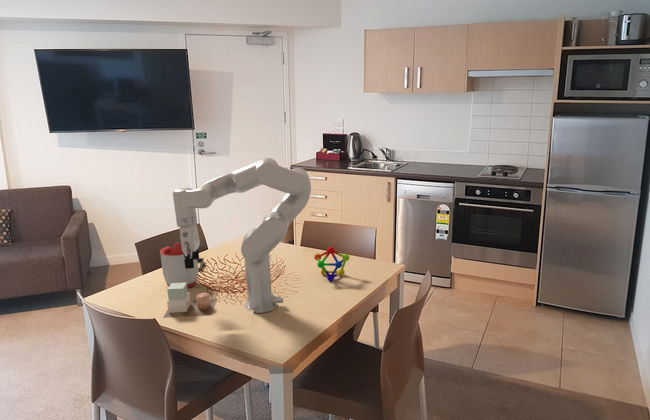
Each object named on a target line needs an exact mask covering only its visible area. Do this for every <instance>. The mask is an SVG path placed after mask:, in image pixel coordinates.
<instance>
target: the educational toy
mask: <svg viewBox="0 0 650 420" xmlns="http://www.w3.org/2000/svg"><path fill="white" fill-rule="evenodd" d="M330 255H331V256H332V257H333V260H334V261H335V263H331V262H330V263H329V262H328V263H327V262H326V263H325V261H326V260H327V259H328V257H329V256H330ZM336 255H337V256H340V258H342V259H341V260H338V258H337V257H336ZM323 256H324V257H323ZM322 257H323V259H322ZM313 258H314V260H315V261H318V262H317V267H318V268H320V274H321V275H322V276H326V277H327V278H326V279H327V281H328V282H333V281H334V280H335V278H336V277H337V276H340V277H341V276H344V275H345V273H346V272H345V270H344V268H345V265H346V262H348V261H349V260H350V255H349V254H347V253H344V254H342V253H340V252H339V251H336V250H335V248H334V247H333V246H329V247H328V248H327V250H326V251H324V252H323V253H321V254H320V253H315V254H314V256H313ZM321 259H322V260H321ZM325 266H327V267H328V266H331V267H332V266H334V267H335V268H334V269H333V270H328V269H327V268H326V267H325Z"/></svg>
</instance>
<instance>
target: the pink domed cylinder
mask: <svg viewBox="0 0 650 420" xmlns="http://www.w3.org/2000/svg"><path fill="white" fill-rule="evenodd" d="M195 296H196V298H195V300H197V308H198V309H199V310H206V309H209V308H210V299H211V297H210V293H208V292H200V293H197V294H196V295H195Z"/></svg>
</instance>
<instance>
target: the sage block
mask: <svg viewBox="0 0 650 420" xmlns="http://www.w3.org/2000/svg"><path fill="white" fill-rule="evenodd" d="M167 287H168V286H167ZM188 293H189V292H188V288H187V282H186V283H171V284H170V286H169V287H168V288H167V296H168V298H167V300H168V299H169V300H182V299H185V297H186V295H187V294H188Z"/></svg>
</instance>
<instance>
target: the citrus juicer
mask: <svg viewBox="0 0 650 420" xmlns="http://www.w3.org/2000/svg"><path fill="white" fill-rule="evenodd" d="M159 254H160V259H161V260H160V261H161V271H162V275H163V278H164V281H165V283H166V285H167V287H169V286H170V284H171V283H186V282H187V289H190V288H193V287H194V286H195V285H196V283H197V280H198V275H199V274H198V273H199V270H198V268H199V264H198V263H199V262H197V260H193V262H194V268H190V269H186V268H185V262H184V253H183V251H182V246H181V242H176V243H174V245H173V246H172V247H170V245H167V246H165V247H163V248H160V250H159ZM189 255H190V253H189Z"/></svg>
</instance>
